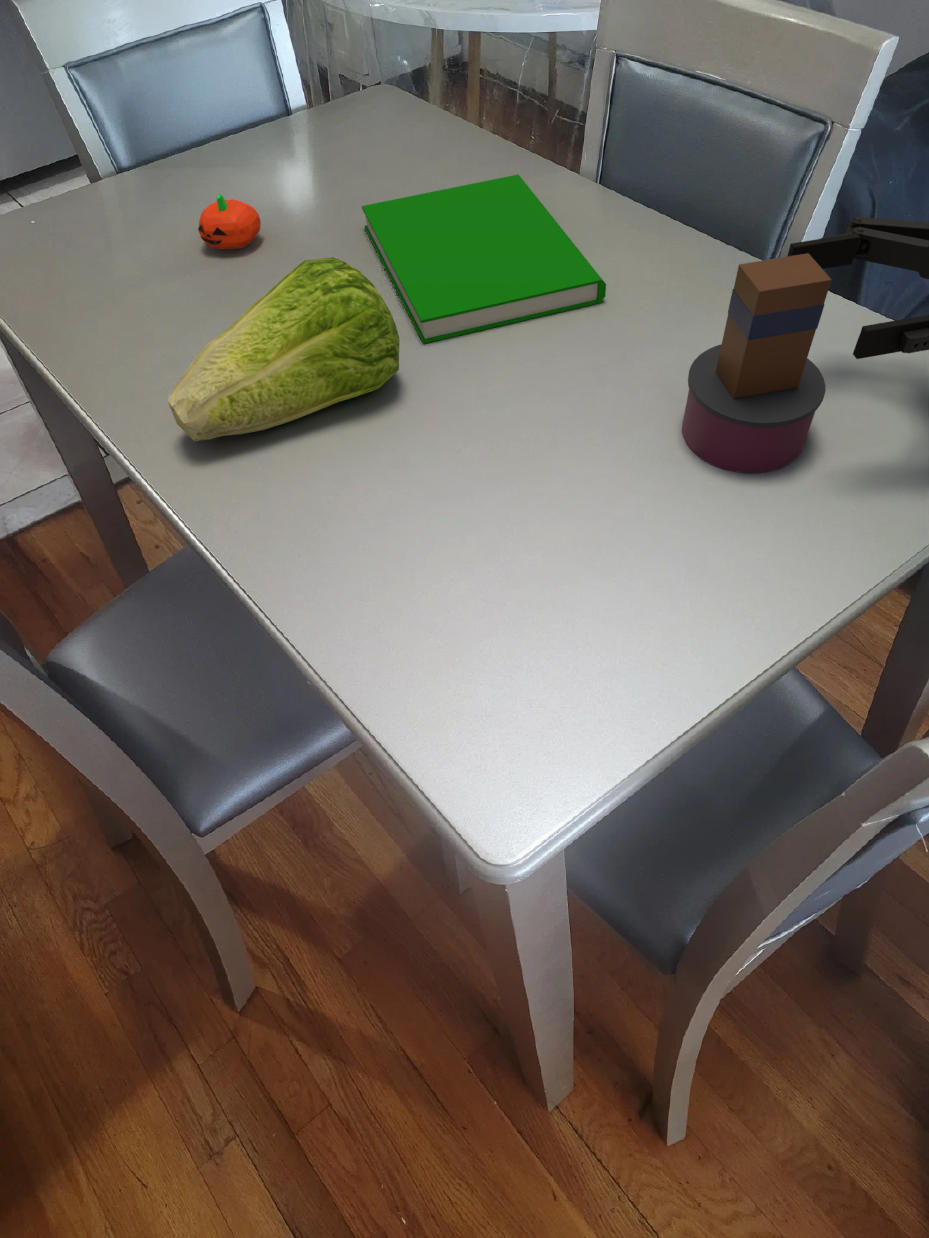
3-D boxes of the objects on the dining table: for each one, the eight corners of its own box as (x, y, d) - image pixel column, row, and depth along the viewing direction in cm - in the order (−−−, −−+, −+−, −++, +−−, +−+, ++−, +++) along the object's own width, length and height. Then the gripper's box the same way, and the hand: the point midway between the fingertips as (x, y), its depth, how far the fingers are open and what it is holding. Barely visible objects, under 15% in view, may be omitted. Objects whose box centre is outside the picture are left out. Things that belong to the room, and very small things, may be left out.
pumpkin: (265, 254, 113) (253, 205, 108) (203, 261, 112) (188, 212, 107) (265, 227, 117) (254, 179, 112) (206, 233, 117) (192, 185, 112)
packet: (778, 360, 84) (808, 252, 75) (798, 388, 81) (832, 279, 72) (714, 371, 83) (737, 264, 75) (733, 399, 80) (759, 291, 72)
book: (423, 343, 99) (421, 320, 97) (364, 228, 116) (361, 206, 113) (604, 302, 102) (606, 278, 100) (522, 195, 119) (522, 173, 117)
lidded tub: (833, 432, 86) (852, 379, 81) (755, 494, 82) (771, 441, 77) (730, 377, 93) (743, 325, 88) (652, 432, 88) (661, 380, 83)
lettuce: (232, 505, 88) (183, 439, 97) (427, 383, 93) (363, 330, 101) (163, 397, 77) (114, 333, 86) (388, 264, 82) (320, 217, 90)
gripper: (1111, 378, 74) (878, 421, 72) (950, 233, 89) (754, 265, 87) (1163, 298, 68) (911, 342, 66) (981, 158, 83) (772, 190, 81)
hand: (821, 299), depth 76 cm, fingers open, 13 cm apart
